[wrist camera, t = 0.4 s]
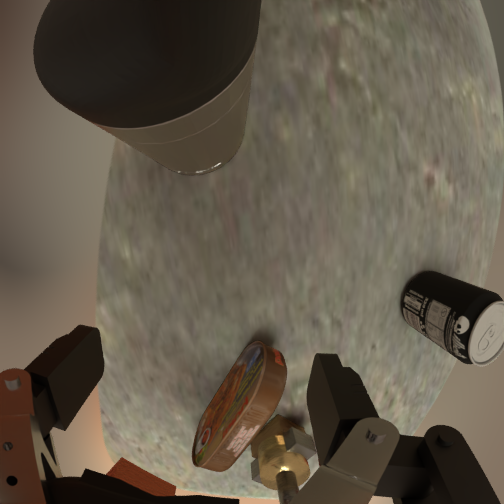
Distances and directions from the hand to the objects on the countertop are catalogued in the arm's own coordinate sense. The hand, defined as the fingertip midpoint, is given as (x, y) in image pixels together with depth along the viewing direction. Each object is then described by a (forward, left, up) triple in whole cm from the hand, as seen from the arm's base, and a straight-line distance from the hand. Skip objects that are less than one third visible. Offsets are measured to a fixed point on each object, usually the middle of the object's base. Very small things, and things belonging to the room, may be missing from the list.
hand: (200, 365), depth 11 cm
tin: (+13, -1, -19) cm, 23 cm away
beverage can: (+7, +21, -19) cm, 29 cm away
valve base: (+21, +3, -19) cm, 28 cm away
